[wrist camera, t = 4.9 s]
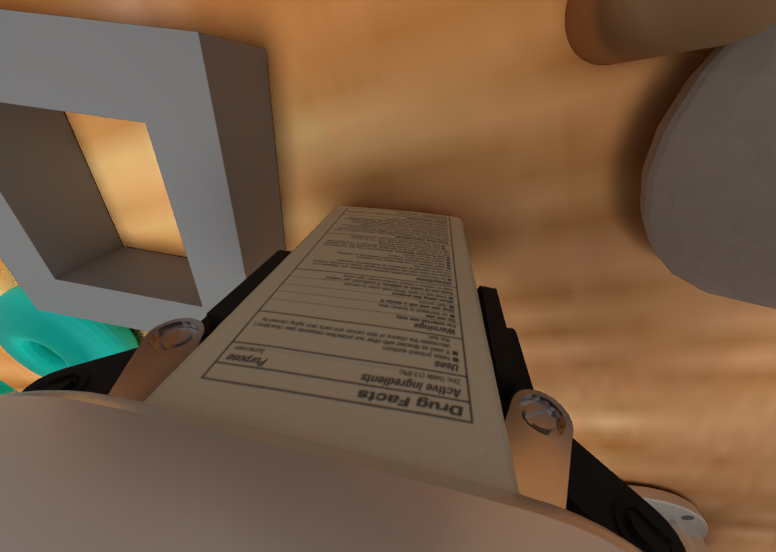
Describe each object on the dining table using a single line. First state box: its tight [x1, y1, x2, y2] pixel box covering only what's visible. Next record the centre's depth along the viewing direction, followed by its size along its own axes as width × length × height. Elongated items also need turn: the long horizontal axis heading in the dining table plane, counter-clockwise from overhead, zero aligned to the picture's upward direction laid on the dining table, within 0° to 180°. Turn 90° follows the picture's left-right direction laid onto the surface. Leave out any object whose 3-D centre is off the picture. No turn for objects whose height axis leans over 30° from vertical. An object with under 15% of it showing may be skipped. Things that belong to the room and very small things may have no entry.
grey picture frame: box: [0, 9, 286, 332], centre depth 15 cm, size 14×14×4 cm
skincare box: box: [144, 206, 520, 494], centre depth 10 cm, size 6×4×12 cm
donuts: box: [0, 286, 139, 395], centre depth 20 cm, size 10×10×10 cm
